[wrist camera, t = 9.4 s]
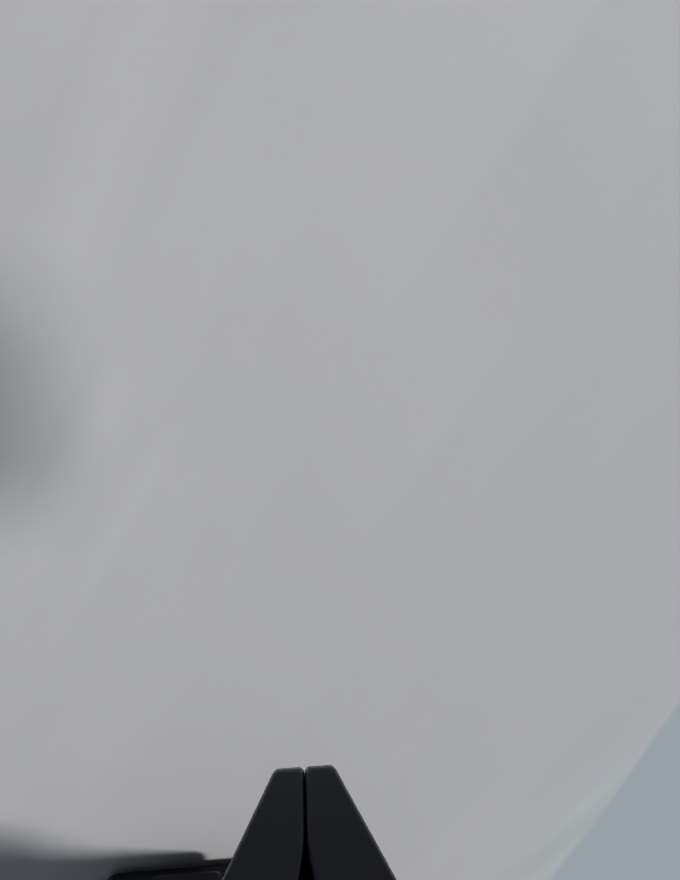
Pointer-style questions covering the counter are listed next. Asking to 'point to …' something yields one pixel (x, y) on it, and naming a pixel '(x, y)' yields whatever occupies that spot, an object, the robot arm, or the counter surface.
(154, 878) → the robot arm
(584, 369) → the counter surface
